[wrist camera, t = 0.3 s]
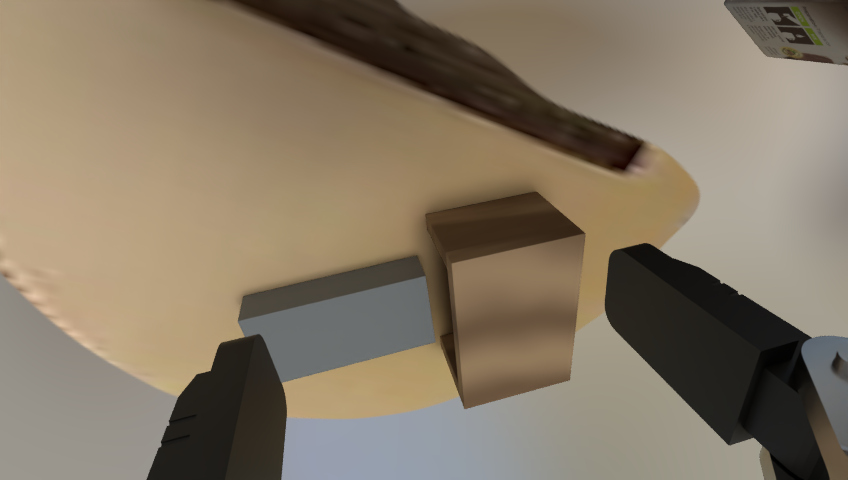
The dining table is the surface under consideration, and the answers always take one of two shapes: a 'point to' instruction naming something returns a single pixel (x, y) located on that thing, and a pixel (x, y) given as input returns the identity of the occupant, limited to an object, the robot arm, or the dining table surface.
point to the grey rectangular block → (341, 318)
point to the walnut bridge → (509, 295)
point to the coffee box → (796, 28)
